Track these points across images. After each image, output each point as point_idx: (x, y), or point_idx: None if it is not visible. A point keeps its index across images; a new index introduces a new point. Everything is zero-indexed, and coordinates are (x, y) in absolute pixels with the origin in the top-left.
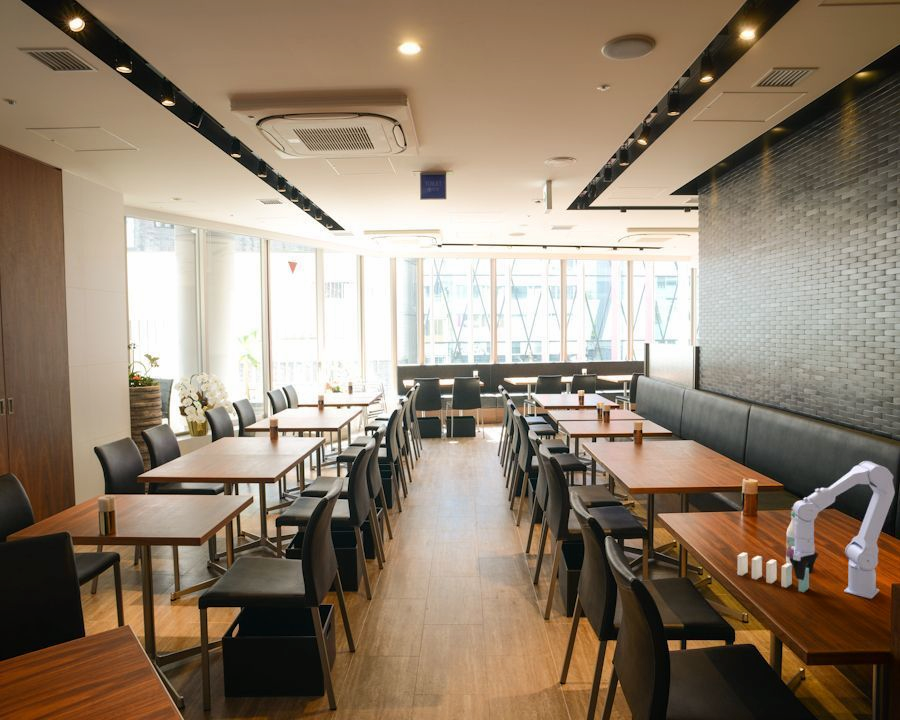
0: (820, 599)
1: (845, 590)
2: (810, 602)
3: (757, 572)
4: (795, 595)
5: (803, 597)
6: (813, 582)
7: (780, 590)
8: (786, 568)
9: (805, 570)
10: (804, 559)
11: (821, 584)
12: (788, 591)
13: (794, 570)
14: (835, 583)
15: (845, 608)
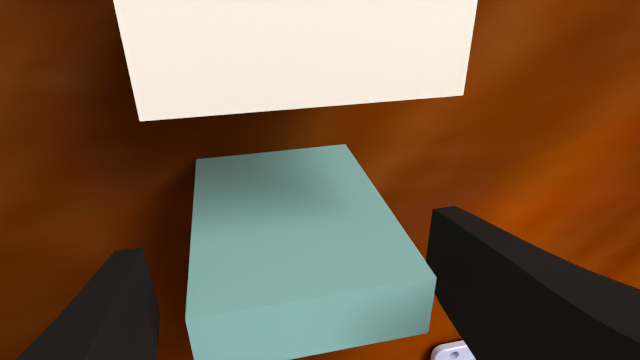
0: (164, 333)
1: (445, 356)
2: (16, 329)
3: None
4: (42, 193)
5: (70, 254)
6: (510, 151)
7: (14, 23)
8: (145, 115)
9: (285, 358)
10: (568, 344)
11: (499, 206)
12: (81, 101)
13: (37, 338)
14: (572, 250)
15: None
